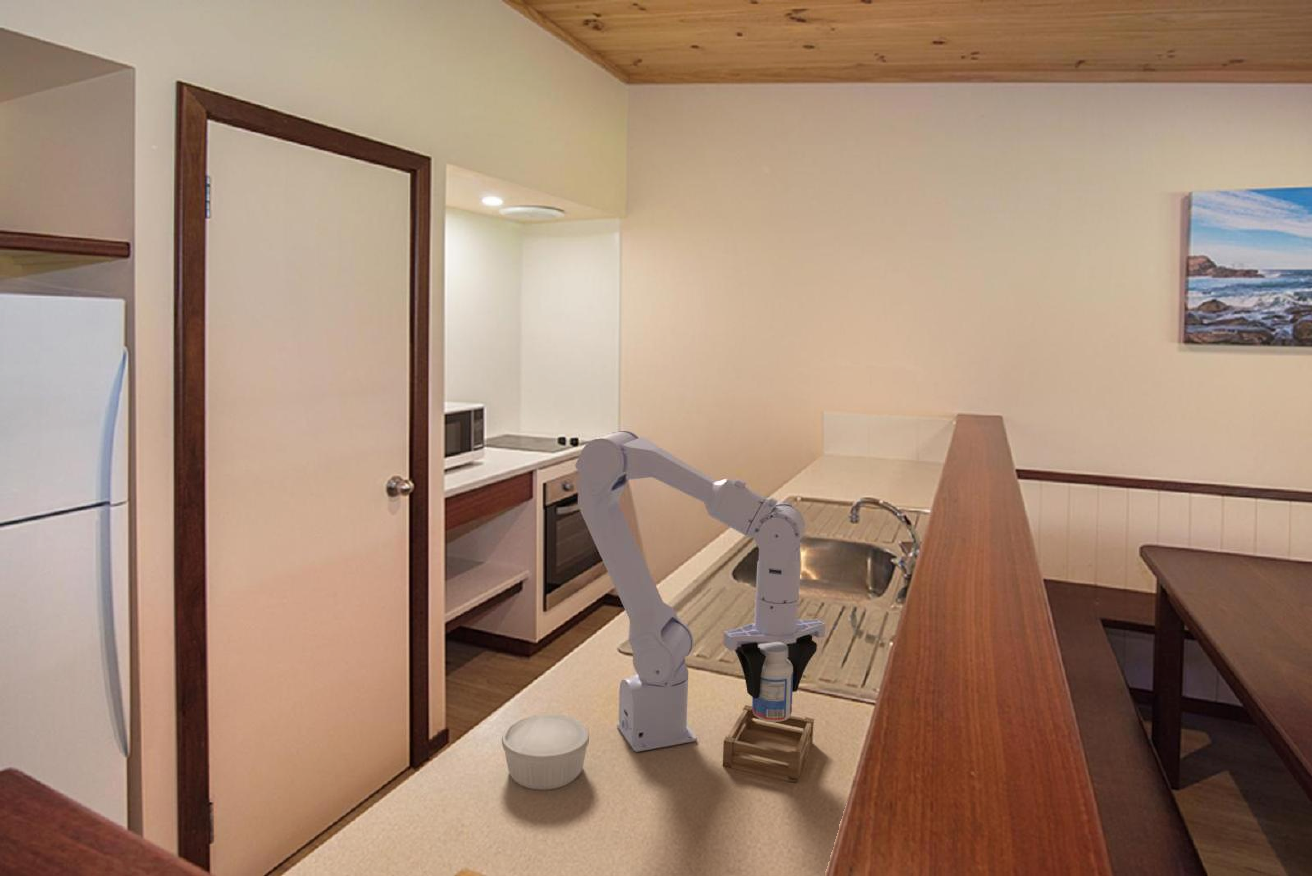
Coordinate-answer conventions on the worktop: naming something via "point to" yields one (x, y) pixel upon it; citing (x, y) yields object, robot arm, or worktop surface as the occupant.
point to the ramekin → (545, 750)
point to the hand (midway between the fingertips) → (772, 691)
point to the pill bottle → (774, 684)
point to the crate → (768, 746)
